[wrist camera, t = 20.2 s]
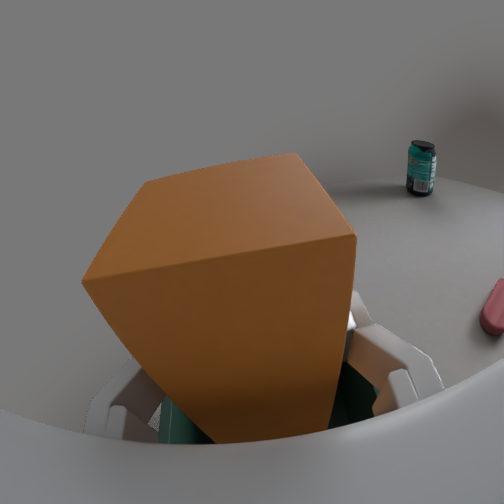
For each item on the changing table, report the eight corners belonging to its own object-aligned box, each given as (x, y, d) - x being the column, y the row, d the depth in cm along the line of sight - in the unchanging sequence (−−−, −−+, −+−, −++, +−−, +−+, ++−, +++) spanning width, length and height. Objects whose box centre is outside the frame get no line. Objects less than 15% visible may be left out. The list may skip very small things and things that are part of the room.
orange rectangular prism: (227, 453, 10) (79, 281, 4) (225, 376, 14) (144, 181, 8) (324, 440, 10) (358, 233, 4) (308, 364, 14) (295, 151, 8)
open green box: (208, 528, 14) (154, 532, 8) (207, 401, 26) (169, 345, 20) (374, 506, 14) (419, 500, 8) (343, 381, 26) (357, 316, 20)
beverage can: (424, 184, 60) (427, 140, 53) (437, 196, 54) (442, 148, 47) (401, 185, 60) (403, 139, 53) (413, 197, 55) (417, 147, 48)
